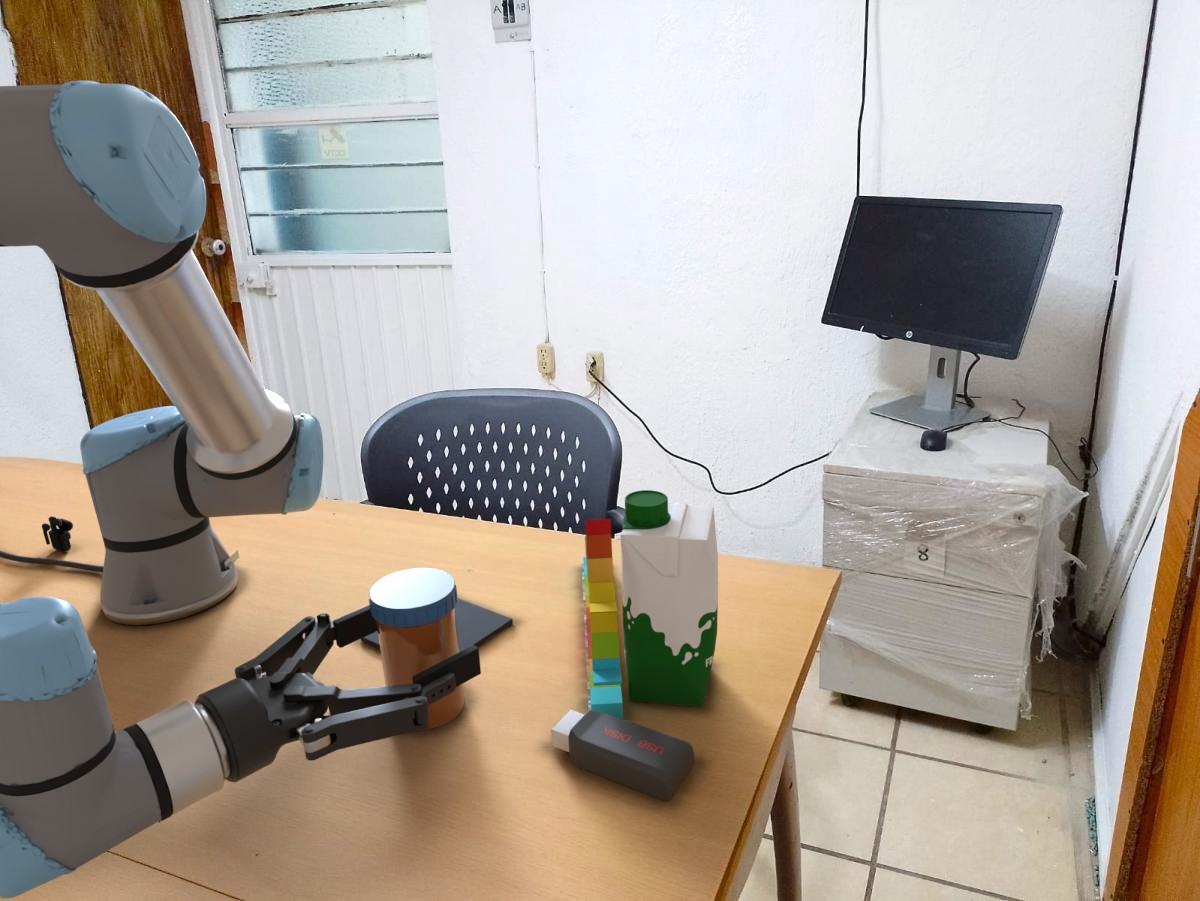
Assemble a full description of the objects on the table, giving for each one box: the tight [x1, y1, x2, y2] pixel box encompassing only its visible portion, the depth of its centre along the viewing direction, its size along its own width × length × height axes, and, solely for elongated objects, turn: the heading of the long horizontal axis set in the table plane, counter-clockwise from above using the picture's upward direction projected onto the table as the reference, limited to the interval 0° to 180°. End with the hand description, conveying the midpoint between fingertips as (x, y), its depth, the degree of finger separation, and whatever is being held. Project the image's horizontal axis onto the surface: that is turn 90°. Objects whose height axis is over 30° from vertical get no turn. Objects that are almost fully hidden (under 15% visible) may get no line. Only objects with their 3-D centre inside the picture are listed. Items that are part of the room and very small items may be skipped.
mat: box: [360, 597, 514, 652], centre depth 93 cm, size 12×12×1 cm
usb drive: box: [550, 709, 695, 802], centre depth 72 cm, size 5×12×3 cm, turn 59°
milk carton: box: [619, 489, 719, 708], centre depth 79 cm, size 9×9×20 cm
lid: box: [368, 567, 458, 627], centre depth 77 cm, size 8×8×2 cm
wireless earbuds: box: [41, 516, 74, 553], centre depth 117 cm, size 7×2×5 cm, turn 59°
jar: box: [376, 608, 465, 731], centre depth 79 cm, size 7×7×13 cm
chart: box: [581, 518, 624, 719], centre depth 89 cm, size 30×3×15 cm, turn 3°
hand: (434, 632), depth 80 cm, fingers open, 13 cm apart
